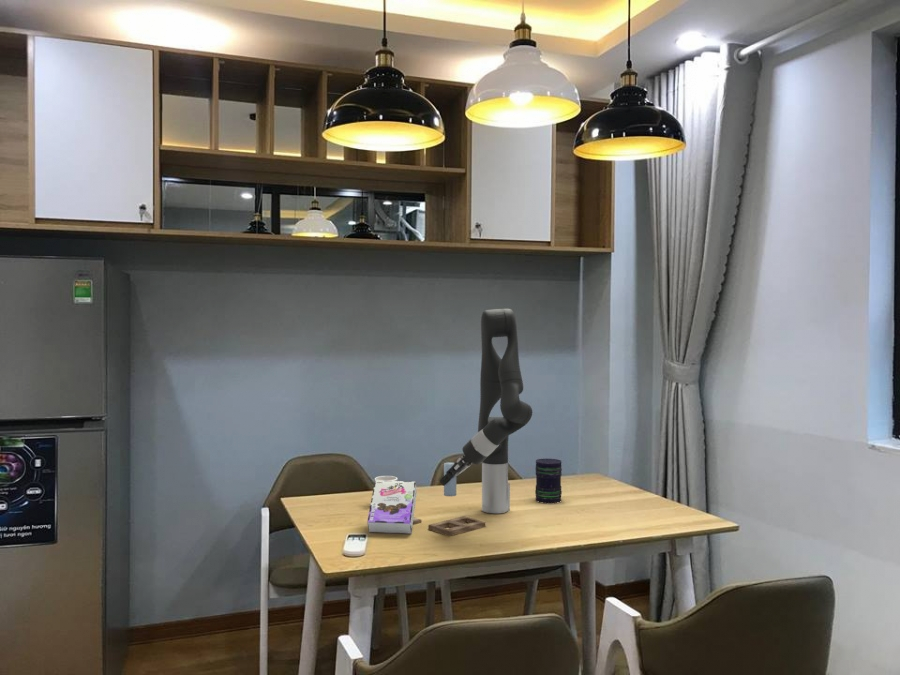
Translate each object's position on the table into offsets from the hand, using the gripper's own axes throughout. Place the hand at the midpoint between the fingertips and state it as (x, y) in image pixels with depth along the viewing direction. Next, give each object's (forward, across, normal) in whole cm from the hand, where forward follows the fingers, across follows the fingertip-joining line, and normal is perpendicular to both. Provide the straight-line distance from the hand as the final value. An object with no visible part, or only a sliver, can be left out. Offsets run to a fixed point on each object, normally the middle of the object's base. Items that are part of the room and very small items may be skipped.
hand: (444, 481), depth 227 cm
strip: (+21, -4, +1) cm, 21 cm away
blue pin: (+2, 0, +4) cm, 5 cm away
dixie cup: (+34, -23, -10) cm, 42 cm away
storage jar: (-4, -51, +28) cm, 58 cm away
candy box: (+20, +11, 0) cm, 23 cm away
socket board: (+9, -4, +13) cm, 16 cm away
